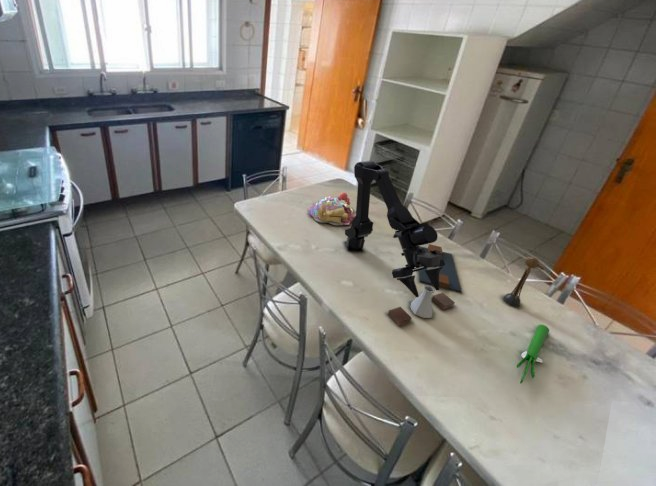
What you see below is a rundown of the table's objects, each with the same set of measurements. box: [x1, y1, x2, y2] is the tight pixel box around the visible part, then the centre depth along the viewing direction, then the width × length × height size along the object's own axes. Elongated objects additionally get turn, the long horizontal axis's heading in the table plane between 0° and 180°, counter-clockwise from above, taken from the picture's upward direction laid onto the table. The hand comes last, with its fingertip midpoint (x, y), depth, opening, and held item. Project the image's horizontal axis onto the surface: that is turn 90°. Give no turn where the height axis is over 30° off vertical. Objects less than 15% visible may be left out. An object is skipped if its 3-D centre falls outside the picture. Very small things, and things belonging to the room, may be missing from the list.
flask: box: [410, 284, 435, 319], centre depth 111 cm, size 7×7×10 cm
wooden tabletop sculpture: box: [503, 256, 546, 308], centre depth 114 cm, size 6×5×20 cm
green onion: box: [516, 323, 550, 384], centre depth 98 cm, size 5×3×30 cm
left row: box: [387, 292, 455, 327], centre depth 113 cm, size 5×25×2 cm, turn 112°
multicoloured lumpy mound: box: [308, 191, 356, 226], centre depth 167 cm, size 25×24×9 cm
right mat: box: [418, 243, 462, 293], centre depth 133 cm, size 14×25×3 cm, turn 159°
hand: (427, 293), depth 109 cm, fingers open, 9 cm apart
